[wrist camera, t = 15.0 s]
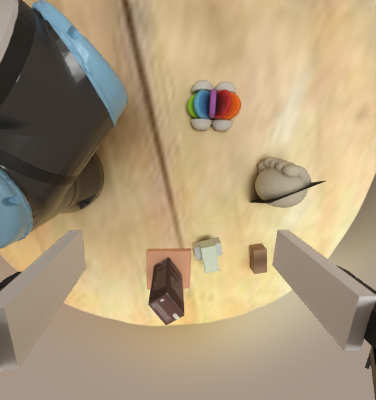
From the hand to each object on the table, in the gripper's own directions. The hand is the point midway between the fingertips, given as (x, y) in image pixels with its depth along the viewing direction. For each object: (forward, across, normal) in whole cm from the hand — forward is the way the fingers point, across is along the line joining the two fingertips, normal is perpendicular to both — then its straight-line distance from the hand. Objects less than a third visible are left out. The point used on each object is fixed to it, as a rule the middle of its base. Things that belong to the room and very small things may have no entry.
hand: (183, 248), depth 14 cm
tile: (+32, -1, -22) cm, 39 cm away
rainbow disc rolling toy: (+32, +7, +14) cm, 36 cm away
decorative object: (+32, +20, 0) cm, 38 cm away
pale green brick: (+29, +8, -16) cm, 34 cm away
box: (+31, -1, -22) cm, 38 cm away
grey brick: (+32, +8, -16) cm, 37 cm away
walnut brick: (+32, +20, -19) cm, 42 cm away
